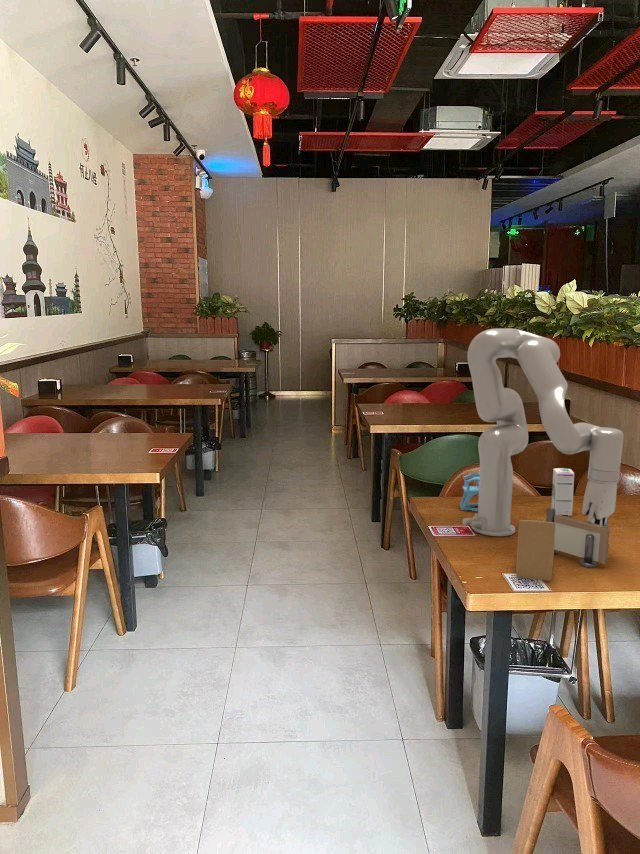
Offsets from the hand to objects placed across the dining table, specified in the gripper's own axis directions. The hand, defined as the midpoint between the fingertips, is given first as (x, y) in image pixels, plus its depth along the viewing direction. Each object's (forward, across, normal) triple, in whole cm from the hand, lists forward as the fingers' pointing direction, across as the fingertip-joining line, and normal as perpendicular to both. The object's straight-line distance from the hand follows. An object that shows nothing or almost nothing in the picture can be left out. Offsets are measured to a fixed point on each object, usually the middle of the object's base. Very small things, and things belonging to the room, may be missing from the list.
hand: (596, 540), depth 174 cm
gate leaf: (+3, +6, -2) cm, 7 cm away
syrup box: (+5, -29, -25) cm, 39 cm away
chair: (+6, -12, -47) cm, 49 cm away
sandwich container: (+5, +19, -7) cm, 21 cm away
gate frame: (+5, +1, -2) cm, 5 cm away
